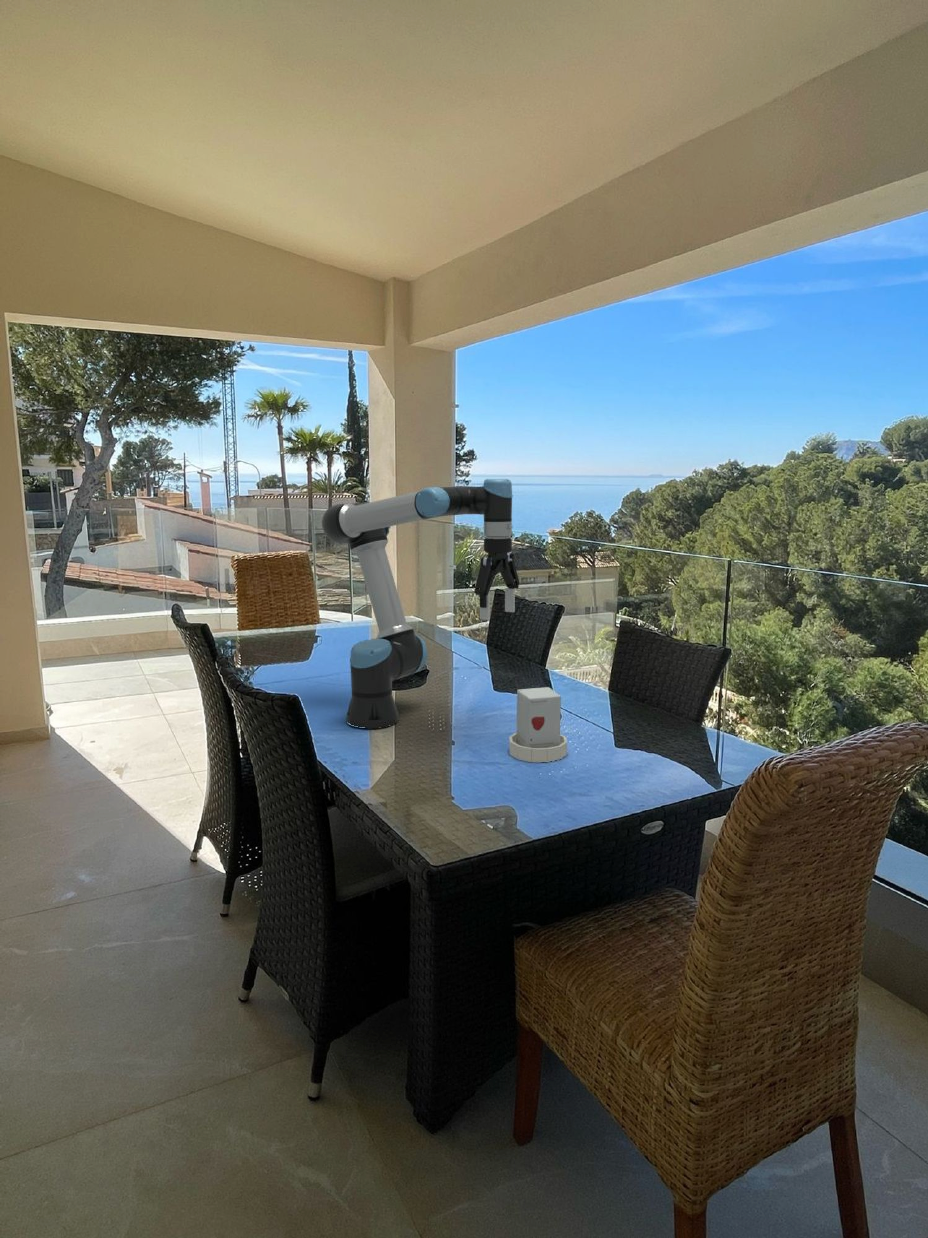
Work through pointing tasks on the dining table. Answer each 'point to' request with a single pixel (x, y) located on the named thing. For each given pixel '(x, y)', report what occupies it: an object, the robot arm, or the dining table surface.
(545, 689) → the supplement box
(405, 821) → the dining table surface
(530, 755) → the bowl
